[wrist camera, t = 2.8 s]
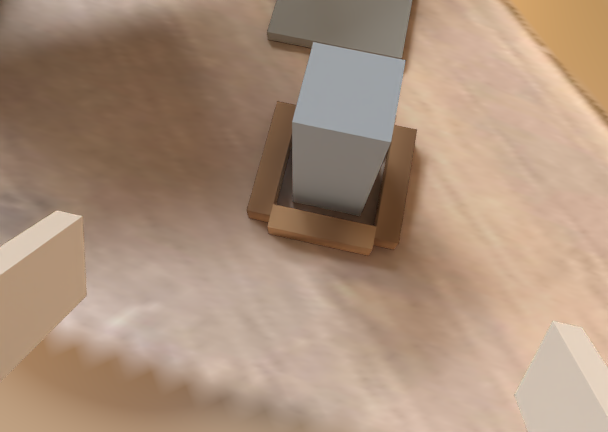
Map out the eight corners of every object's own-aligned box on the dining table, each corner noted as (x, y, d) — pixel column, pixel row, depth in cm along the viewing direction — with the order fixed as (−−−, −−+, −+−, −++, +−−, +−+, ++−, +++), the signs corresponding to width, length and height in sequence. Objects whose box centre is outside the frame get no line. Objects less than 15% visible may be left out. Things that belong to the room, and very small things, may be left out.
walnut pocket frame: (245, 228, 29) (243, 221, 28) (280, 104, 32) (279, 91, 31) (392, 260, 29) (396, 255, 27) (412, 131, 32) (418, 120, 30)
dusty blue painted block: (292, 201, 30) (291, 121, 20) (307, 142, 31) (313, 42, 22) (359, 216, 29) (390, 142, 20) (371, 155, 31) (405, 60, 22)
